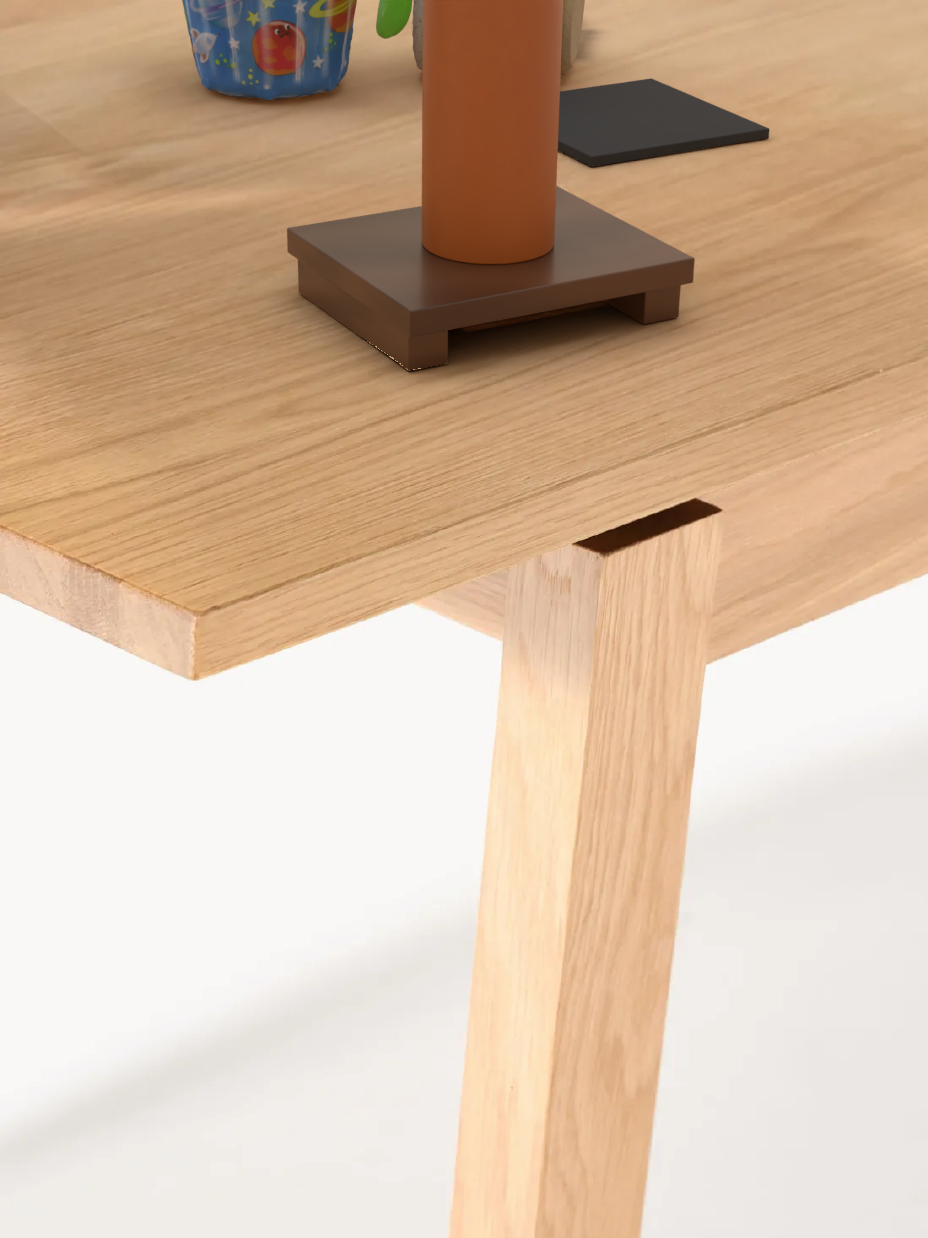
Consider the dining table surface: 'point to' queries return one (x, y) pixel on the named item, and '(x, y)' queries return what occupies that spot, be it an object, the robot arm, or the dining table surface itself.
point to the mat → (644, 123)
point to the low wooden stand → (478, 277)
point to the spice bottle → (490, 128)
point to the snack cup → (279, 43)
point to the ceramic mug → (570, 32)
